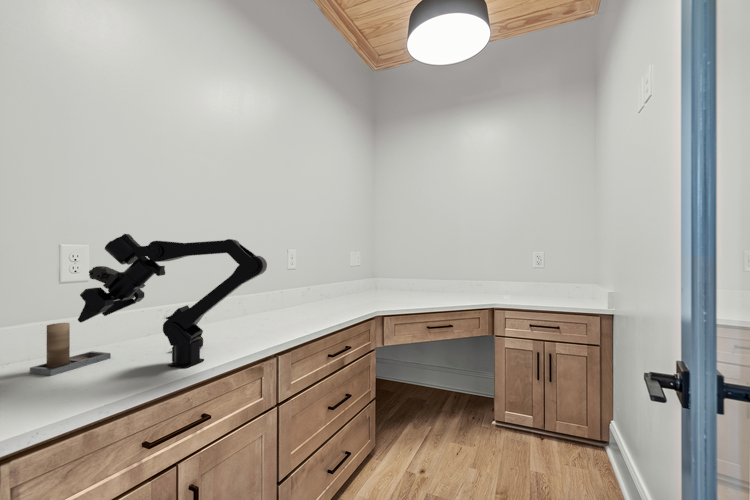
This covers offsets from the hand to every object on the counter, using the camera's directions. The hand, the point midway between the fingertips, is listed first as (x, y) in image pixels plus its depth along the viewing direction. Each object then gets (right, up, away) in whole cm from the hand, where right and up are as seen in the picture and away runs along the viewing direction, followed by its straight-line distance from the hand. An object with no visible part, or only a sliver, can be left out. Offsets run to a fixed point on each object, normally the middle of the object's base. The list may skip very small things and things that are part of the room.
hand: (92, 317), depth 92 cm
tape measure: (+17, -14, +17) cm, 28 cm away
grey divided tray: (-7, -13, +2) cm, 15 cm away
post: (-8, -13, -1) cm, 16 cm away
